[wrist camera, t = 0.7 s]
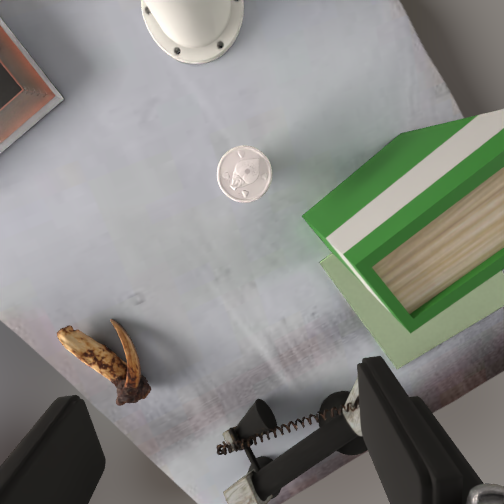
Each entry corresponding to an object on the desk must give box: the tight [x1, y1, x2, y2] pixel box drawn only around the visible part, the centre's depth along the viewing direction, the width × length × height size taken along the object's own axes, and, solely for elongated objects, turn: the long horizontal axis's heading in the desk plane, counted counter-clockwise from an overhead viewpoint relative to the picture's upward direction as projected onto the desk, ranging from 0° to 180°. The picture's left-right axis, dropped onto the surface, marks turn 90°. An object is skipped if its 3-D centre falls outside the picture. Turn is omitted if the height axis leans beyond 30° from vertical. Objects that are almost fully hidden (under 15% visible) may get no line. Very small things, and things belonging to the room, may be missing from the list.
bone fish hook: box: [57, 319, 151, 406], centre depth 49 cm, size 9×5×18 cm
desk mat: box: [319, 253, 504, 369], centre depth 48 cm, size 24×22×1 cm
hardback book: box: [302, 109, 504, 334], centre depth 33 cm, size 18×7×24 cm, turn 131°
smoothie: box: [217, 146, 272, 203], centre depth 37 cm, size 6×6×14 cm
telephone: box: [217, 378, 368, 504], centre depth 50 cm, size 15×13×30 cm
